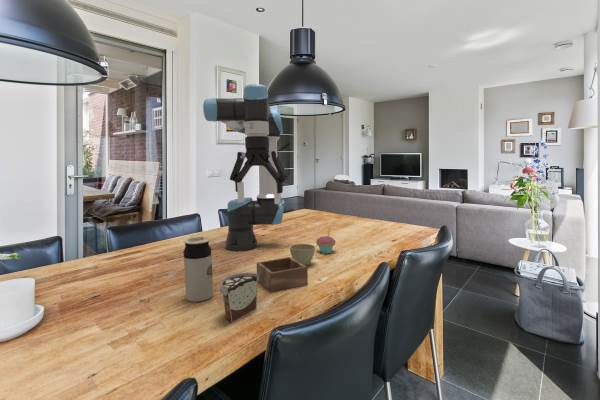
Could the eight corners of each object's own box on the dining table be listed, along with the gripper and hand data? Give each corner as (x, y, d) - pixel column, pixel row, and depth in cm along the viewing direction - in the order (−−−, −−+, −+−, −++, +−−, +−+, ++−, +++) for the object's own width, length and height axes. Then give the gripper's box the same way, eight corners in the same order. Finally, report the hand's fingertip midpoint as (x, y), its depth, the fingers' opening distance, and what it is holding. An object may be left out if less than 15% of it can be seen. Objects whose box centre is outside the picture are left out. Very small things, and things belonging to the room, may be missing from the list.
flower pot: (313, 269, 125) (312, 250, 124) (287, 267, 127) (287, 249, 126) (317, 261, 134) (316, 244, 134) (293, 259, 136) (292, 243, 136)
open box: (257, 279, 115) (256, 262, 114) (290, 272, 121) (290, 256, 120) (271, 292, 104) (271, 273, 103) (307, 284, 110) (307, 267, 109)
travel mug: (180, 300, 99) (176, 241, 96) (198, 290, 106) (195, 235, 104) (202, 304, 96) (198, 243, 93) (218, 293, 103) (216, 237, 101)
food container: (244, 302, 97) (243, 269, 95) (260, 307, 93) (259, 273, 92) (211, 319, 86) (209, 282, 85) (227, 326, 83) (225, 287, 82)
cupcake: (337, 250, 150) (337, 224, 148) (332, 255, 142) (332, 228, 140) (319, 248, 153) (318, 223, 151) (313, 253, 145) (313, 227, 143)
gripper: (217, 137, 106) (220, 202, 108) (287, 133, 96) (288, 205, 98) (231, 138, 113) (233, 200, 115) (297, 135, 103) (298, 202, 105)
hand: (258, 202), depth 107 cm, fingers open, 13 cm apart
